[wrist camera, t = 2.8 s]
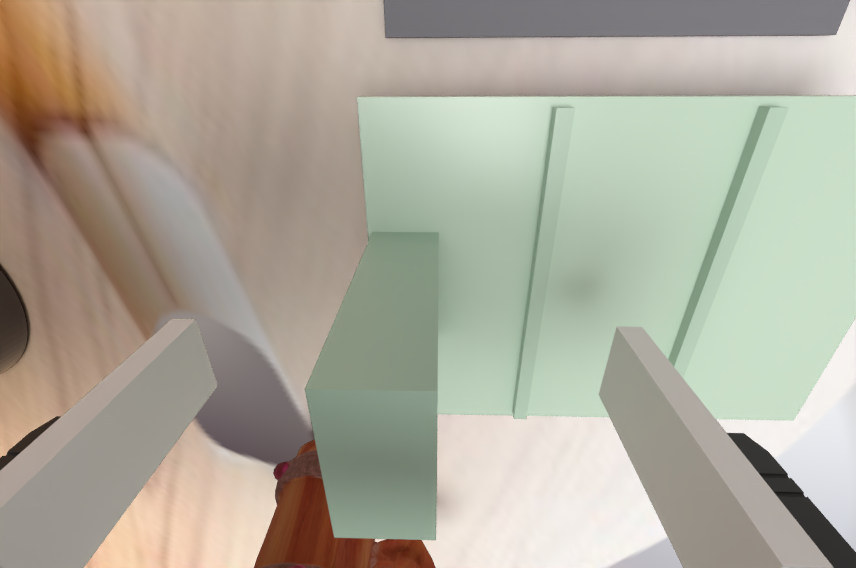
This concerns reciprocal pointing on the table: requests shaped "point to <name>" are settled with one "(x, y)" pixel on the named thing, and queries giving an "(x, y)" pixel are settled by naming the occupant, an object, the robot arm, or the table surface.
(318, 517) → the mug
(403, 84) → the table surface
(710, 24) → the mat
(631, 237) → the lid
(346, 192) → the table surface
